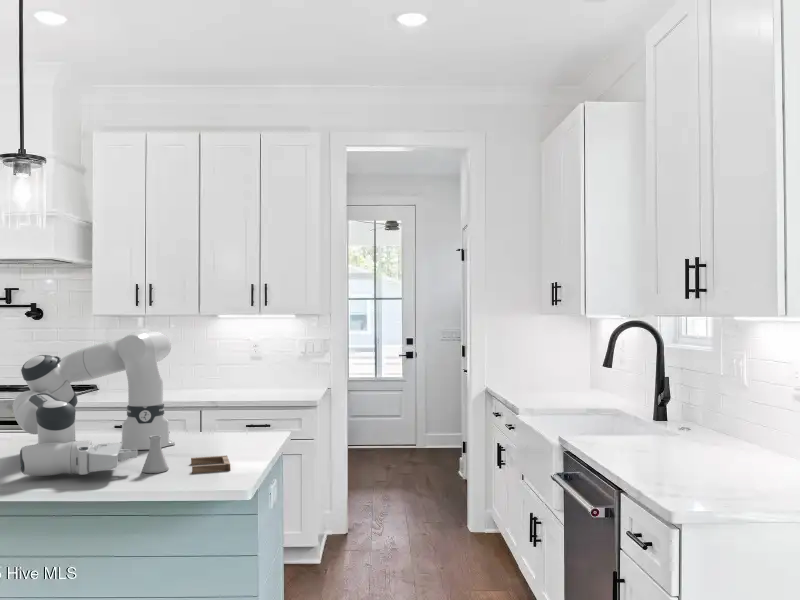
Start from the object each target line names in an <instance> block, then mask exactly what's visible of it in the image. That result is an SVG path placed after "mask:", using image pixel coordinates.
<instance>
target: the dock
mask: <svg viewBox="0 0 800 600" xmlns="http://www.w3.org/2000/svg"><path fill="white" fill-rule="evenodd" d="M190 465H191V473H192V474H202V473H214V472H229V471H231V463H230V460H229V457H228V455H216V456H215V455H213V456H211V455H210V456H201V457H198V456H197V457H190Z"/></svg>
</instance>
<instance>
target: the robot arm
mask: <svg viewBox="0 0 800 600" xmlns="http://www.w3.org/2000/svg"><path fill="white" fill-rule="evenodd" d="M171 349H172V343H171V340H170V338H169V337H168V336H167V335H166V334H164V333H163V332H160V331H158V330H157V331H156V330H151V331H150V330H149V331H148V330H146V331H135V332H131V333H129V334H127V335H125V336H124V337H121V338H117V339H112V340H109V341H106V342H101V343H98V344H93V345H91V346H87V347H84V348H81V349H78V350H75V351H73V352H71V353H69V354H66V355H65V356H63V357H62V358H61V357H59V356H56V355H54V356H53V355H51V354H50V355H49V354H39V355H37V356H34V357H32V358H30V359H28V360H27V361H25V363H24V364H23V366H22V367H21V369H20V372H21V375H22V378H23V380H24V381H25V382H26V385H27V386H28V388H29V390H25V391H23V392H21V393H19V394H18V395H16V397H15V398H14V400H13V403H12V412H13V417H14V419H15V420H16V422H17V424H18V426H19V427H20V428H21V429H22V431H24V432H25V433H27V434H30V435H37V443H35V444H29V445H26V446H22V447H21V449H20V451H19V461H20V471H21V473H22V474H23V475H26V476H36V477H37V476H42V477H45V476H46V477H47V476H56V475H57V476H58V475H60V474H69V475H75V474H78V475H88V474H89V473H93V472H101V471H107V470H109V471H110V470H113V469H116V468H117V467H118V466H119V463H120V461H125V460H129V459H135V458H137V457H138V453H139V450H140V451H141V450H142V451H143V450H149V448H150V439H149V437H150V436H154V435H159V436H161V438H160V444H161V448H165V447H169V446H174V445H176V442H175V440H173V439H172V438H171V437H170V434H171V433H170V425H169V424H170V423H169V420H168V419H167V418H166V417H165V416H164V415H165V410H166V409H165V403H164V384H163V383H164V382H163V378H162V377H161V375H160V372H159V367H158V362H160V361H162V360H164V359H166V357H168V355H169V354H170V352H171ZM124 371H125V373H126V377H127V385H128V386H127V387H128V388H127V389H128V391H127V393H128V399H127V401H128V403H127V406H126V416H127V418H125V420H124V421H123V422H122V424H121V441H119V442H107V443H98V444H93V441H92V440H77V441H76V406H77V404H78V397H77V394H76V392H75V391H74V389H73V388H72V385H71V383H77V382H84V381H90V380H94V379H98V378H102V377H105V376H109V375H112V374H116V373H120V372H124Z"/></svg>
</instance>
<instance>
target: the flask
mask: <svg viewBox="0 0 800 600" xmlns="http://www.w3.org/2000/svg"><path fill="white" fill-rule="evenodd" d="M160 438H161V436H159V435H154V436H150V437H149V439H150V448H149V449H148V453H147V456H146V459H145V461H144V463H143V465H142V466H143V467H142V470H141V473H146V474H157V473H159V474H160V473H163V472H167V471H168V470H169V469H170V468H169V465H168V463H167V460H166V458H165V456H164V452H163V450H162V447H161V444H160Z"/></svg>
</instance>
